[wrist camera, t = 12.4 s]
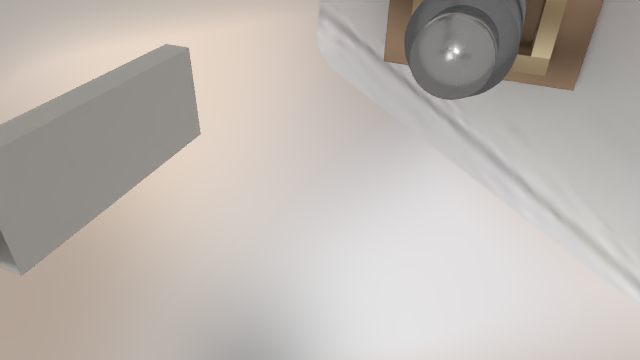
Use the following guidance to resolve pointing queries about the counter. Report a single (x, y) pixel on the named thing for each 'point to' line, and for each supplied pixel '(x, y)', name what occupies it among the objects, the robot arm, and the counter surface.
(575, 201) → the counter surface
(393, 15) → the tool stand
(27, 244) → the robot arm
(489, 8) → the grey cylinder
